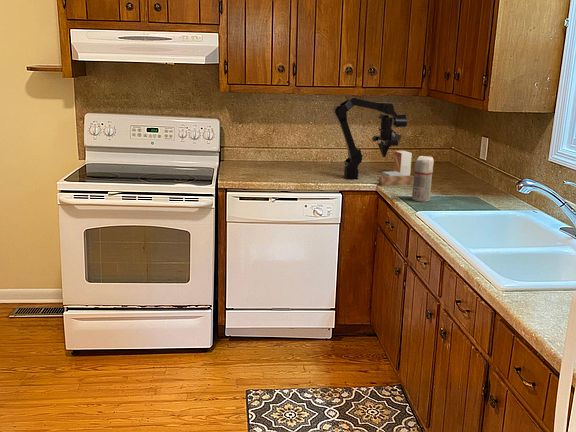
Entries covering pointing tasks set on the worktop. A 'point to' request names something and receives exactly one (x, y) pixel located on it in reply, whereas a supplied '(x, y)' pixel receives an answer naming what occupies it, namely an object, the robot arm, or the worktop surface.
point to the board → (396, 180)
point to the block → (392, 173)
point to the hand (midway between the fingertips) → (384, 157)
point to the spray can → (422, 178)
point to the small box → (402, 162)
